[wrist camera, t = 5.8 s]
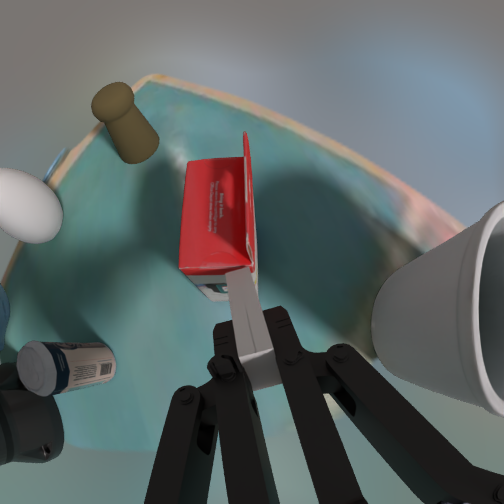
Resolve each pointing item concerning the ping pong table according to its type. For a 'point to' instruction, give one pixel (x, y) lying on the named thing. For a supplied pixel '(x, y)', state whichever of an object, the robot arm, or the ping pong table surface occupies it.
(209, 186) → the ink box
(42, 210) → the air blower bulb
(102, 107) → the cork
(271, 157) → the ping pong table surface
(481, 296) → the utensil holder
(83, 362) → the beer can
